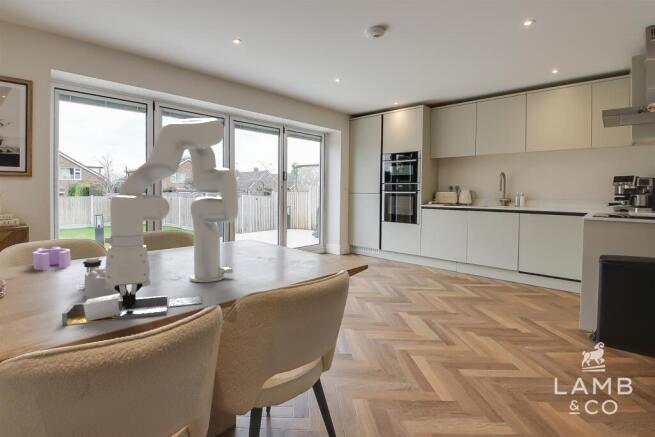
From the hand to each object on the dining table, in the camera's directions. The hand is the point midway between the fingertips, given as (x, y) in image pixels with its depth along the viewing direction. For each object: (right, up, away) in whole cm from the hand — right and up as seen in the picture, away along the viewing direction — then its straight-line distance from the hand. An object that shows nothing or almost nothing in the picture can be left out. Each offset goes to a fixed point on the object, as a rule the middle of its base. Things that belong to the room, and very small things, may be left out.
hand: (129, 307), depth 95 cm
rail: (-3, -2, 0) cm, 3 cm away
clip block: (-5, -1, -2) cm, 6 cm away
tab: (+11, -1, +11) cm, 16 cm away
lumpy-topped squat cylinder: (-16, -1, +16) cm, 23 cm away
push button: (-27, 0, +25) cm, 37 cm away
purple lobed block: (-66, +3, +56) cm, 87 cm away
